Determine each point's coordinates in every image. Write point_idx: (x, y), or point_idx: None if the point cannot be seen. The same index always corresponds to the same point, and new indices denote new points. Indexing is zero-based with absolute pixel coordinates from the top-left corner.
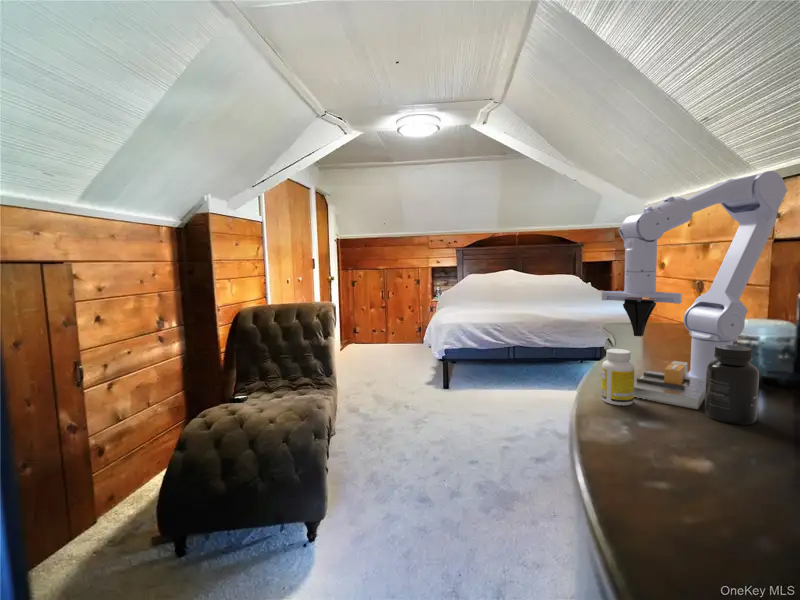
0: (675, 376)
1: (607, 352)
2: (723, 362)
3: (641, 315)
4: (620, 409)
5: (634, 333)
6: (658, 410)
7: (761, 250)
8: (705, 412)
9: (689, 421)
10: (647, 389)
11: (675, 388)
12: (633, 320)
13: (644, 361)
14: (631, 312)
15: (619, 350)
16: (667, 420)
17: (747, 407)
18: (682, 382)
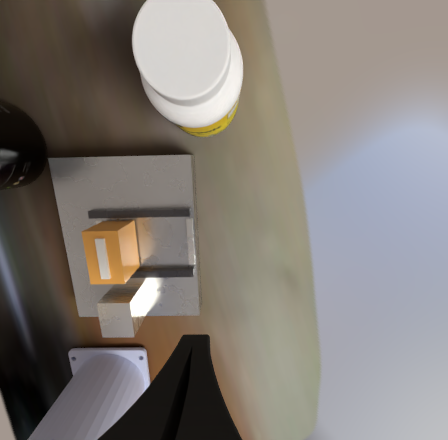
0: (99, 226)
1: (218, 10)
2: None
3: (144, 417)
4: None
5: (205, 340)
6: (118, 99)
7: None
8: (40, 131)
9: (52, 68)
10: (151, 158)
11: (107, 206)
12: (200, 387)
13: (246, 425)
14: (203, 432)
15: (181, 61)
16: (83, 42)
17: None
18: None
